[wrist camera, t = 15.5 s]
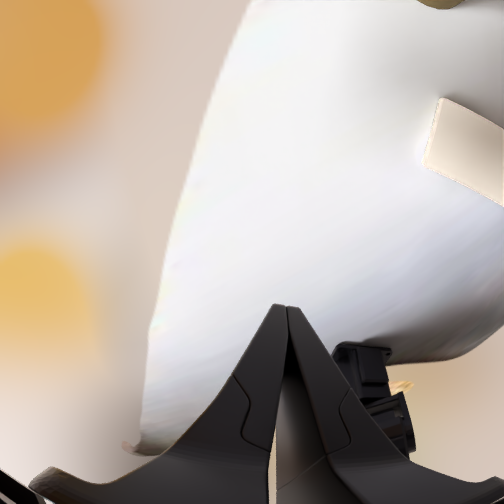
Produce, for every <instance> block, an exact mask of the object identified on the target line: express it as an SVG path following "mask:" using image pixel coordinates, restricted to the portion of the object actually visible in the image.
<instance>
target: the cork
mask: <svg viewBox="0 0 504 504" xmlns="http://www.w3.org/2000/svg"><path fill="white" fill-rule="evenodd" d="M417 1H419V2H421V3H423V4H425V5H427V6H429V7H433V8H436V9H450V8H452V7H454V6H456V5H458V4H459V3H461V2H463V1H464V0H417Z"/></svg>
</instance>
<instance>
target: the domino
mask: <svg viewBox="0 0 504 504" xmlns="http://www.w3.org/2000/svg"><path fill="white" fill-rule="evenodd" d="M421 164H422V165H423V166H424V167H426V168H428V169H430V170H433V171H435V172H437V173H439V174H441V175H443V176H446V177H448V178H450V179H452V180H454V181H456V182H458V183H460V184H462V185H464V186H466V187H468V188H470V189H472V190H474V191H476V192H478V193H479V194H481V195H483V196H485V197H487V198H489V199H490V200H492V201H494V202H496V203H497V204H499V205H501V206H503V207H504V129H503V128H501V127H500V126H498V125H496V124H495V123H493V122H491V121H489V120H488V119H486V118H484V117H482V116H480V115H479V114H477V113H475V112H473V111H471V110H469V109H467V108H465V107H463V106H461V105H459V104H457V103H455V102H453V101H451V100H448V99H446V98H444V97H443V98H440V99H439V101H438V106H437V110H436V114H435V118H434V121H433V125H432V129H431V132H430V136H429V139H428V143H427V146H426V150H425V153H424V156H423V159H422V162H421Z"/></svg>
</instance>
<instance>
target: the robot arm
mask: <svg viewBox="0 0 504 504" xmlns="http://www.w3.org/2000/svg"><path fill="white" fill-rule="evenodd" d="M391 355H392V350H391V349H390V348H379V347H366V346H355V345H345V344H340V345H337V346H336V347H335V349H334V351H333V353H332V354H331V355H330V354H329V352H328V351H327V349H326V348H325V346H324V345H323V343H322V342H321V340H320V339H319V337H318V335H317V334H316V332H315V331H314V329H313V328H312V326H311V325H310V323H309V322H308V320H307V319H306V317H305V315H304V314H303V312H302V311H301V309H300V308H298V307H293V306H285V305H281V304H272V306H271V308H270V309H269V311H268V313H267V315H266V316H265V318H264V320H263V322H262V323H261V325H260V327H259V328H258V330H257V332H256V334H255V335H254V337H253V339H252V340H251V342H250V344H249V345H248V347H247V349H246V350H245V352H244V354H243V355H242V357H241V359H240V360H239V362H238V364H237V365H236V367H235V369H234V370H233V372H232V373H231V376H229V378H228V380H227V381H226V383H225V385H224V386H223V387H222V389H221V390H220V392H219V393H218V395H217V396H216V398H215V399H214V400H213V401H212V402H211V404H210V405H209V406H208V407H207V409H206V410H205V411H204V412H203V413H202V414H201V415H200V416H199V418H198V419H197V420H196V421H195V422H194V423H193V424H192V425H191V426H190V427H189V428H188V429H187V431H186V432H185V433H184V434H183V435H182V436H181V437H180V438H179V439H178V440H177V441H176V442H175V443H174V444H173V445H172V446H171V447H169V448H168V449H167V450H166V451H165V452H163V453H162V454H160V455H159V456H157V457H156V458H154V459H152V460H150V461H149V462H147V463H146V464H144V465H142V466H140V467H138V468H137V469H135V470H133V471H131V472H129V473H127V474H126V475H124V476H122V477H120V478H118V479H116V480H114V481H111V482H109V483H102V484H96V483H90V482H87V481H84V480H82V479H80V478H77V477H75V476H73V475H71V474H69V473H67V472H65V471H63V470H60V469H58V468H55V467H49V468H47V469H46V470H45V471H43V472H42V473H40V474H39V475H37V476H36V477H35V478H34V479H33V480H32V481H31V482H30V484H29V486H28V487H29V488H28V487H26V486H25V485H23V484H22V483H20V482H19V481H17V480H16V479H14V478H13V477H11V476H10V475H9V474H7V473H6V472H4V471H3V470H2V469H0V504H46V502H45V501H44V498H45V499H46V500H48V501H50V502H52V503H53V504H269V490H268V467H269V460H270V453H271V448H272V443H273V437H274V432H275V426H276V481H277V482H276V489H277V492H276V494H277V495H276V496H277V497H276V504H504V498H502V497H504V480H503V479H500V478H498V477H496V476H494V477H491V478H489V479H487V480H485V481H483V482H477V483H473V482H466V481H463V480H459V479H456V478H453V477H450V476H447V475H445V474H442V473H439V472H436V471H433V470H431V469H428V468H425V467H423V466H420V465H417V464H415V463H414V462H412V461H410V458H409V453H411V452H415V451H416V444H415V437H414V432H413V427H412V422H411V418H410V415H409V411H408V408H407V404H406V401H405V397H404V394H403V391H401V392H399V393H397V394H395V395H392V396H391V392H390V388H389V384H388V382H389V379H388V375H387V371H386V367H385V363H386V362H387V360H388V359H389V358H390V356H391ZM500 498H502V499H500ZM499 499H500V500H499ZM497 500H498V501H497ZM495 501H496V502H495ZM493 502H494V503H493Z"/></svg>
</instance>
